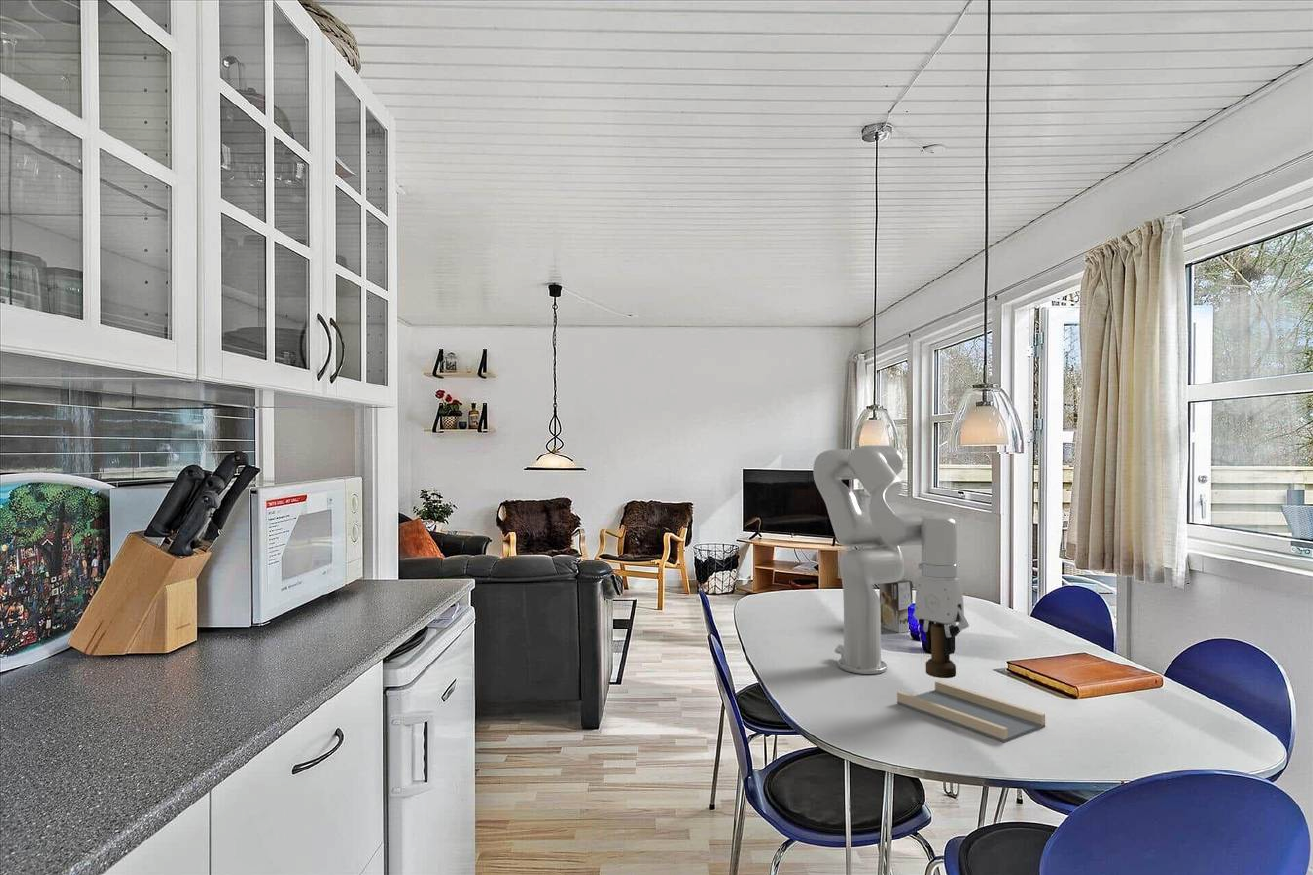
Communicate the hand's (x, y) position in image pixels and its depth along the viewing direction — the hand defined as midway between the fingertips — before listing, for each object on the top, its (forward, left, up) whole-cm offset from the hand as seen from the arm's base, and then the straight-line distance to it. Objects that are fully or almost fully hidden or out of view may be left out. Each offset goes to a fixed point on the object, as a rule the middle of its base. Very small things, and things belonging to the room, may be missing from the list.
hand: (940, 650), depth 165 cm
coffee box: (-51, +48, -13) cm, 71 cm away
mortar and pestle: (0, 0, -5) cm, 5 cm away
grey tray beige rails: (+7, 0, -12) cm, 14 cm away
